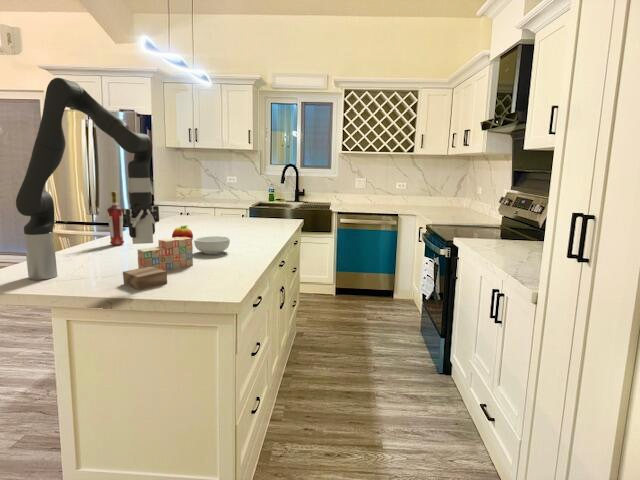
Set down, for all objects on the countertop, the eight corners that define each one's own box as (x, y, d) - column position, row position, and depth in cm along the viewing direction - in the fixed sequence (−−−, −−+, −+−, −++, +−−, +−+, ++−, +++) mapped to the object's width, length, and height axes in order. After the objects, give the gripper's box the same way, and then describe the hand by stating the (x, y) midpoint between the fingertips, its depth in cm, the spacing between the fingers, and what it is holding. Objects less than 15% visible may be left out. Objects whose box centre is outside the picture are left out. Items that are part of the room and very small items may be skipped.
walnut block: (123, 284, 160) (122, 271, 159) (151, 278, 168) (150, 266, 168) (139, 290, 153) (138, 277, 152) (167, 284, 162) (166, 271, 161)
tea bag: (152, 243, 157) (151, 215, 156) (132, 243, 155) (130, 216, 153) (153, 241, 161) (151, 214, 159) (133, 242, 159) (131, 214, 157)
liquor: (109, 243, 231) (105, 191, 226) (124, 242, 235) (120, 191, 230) (110, 246, 225) (106, 192, 220) (125, 245, 229) (121, 192, 223)
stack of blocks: (144, 274, 174) (143, 244, 172) (138, 271, 179) (136, 241, 176) (193, 265, 189) (192, 237, 187) (186, 263, 194) (185, 235, 191)
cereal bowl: (234, 249, 222) (233, 236, 221) (223, 257, 206) (223, 242, 205) (202, 248, 224) (201, 235, 223) (189, 255, 208) (188, 241, 206)
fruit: (168, 245, 230) (167, 227, 228) (180, 242, 240) (179, 224, 238) (185, 247, 227) (185, 228, 225) (197, 243, 237) (196, 225, 235)
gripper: (149, 189, 162) (151, 232, 166) (115, 191, 150) (118, 237, 153) (163, 190, 159) (165, 234, 162) (130, 192, 147) (133, 240, 150)
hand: (142, 235), depth 158 cm, fingers closed on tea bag, 7 cm apart
